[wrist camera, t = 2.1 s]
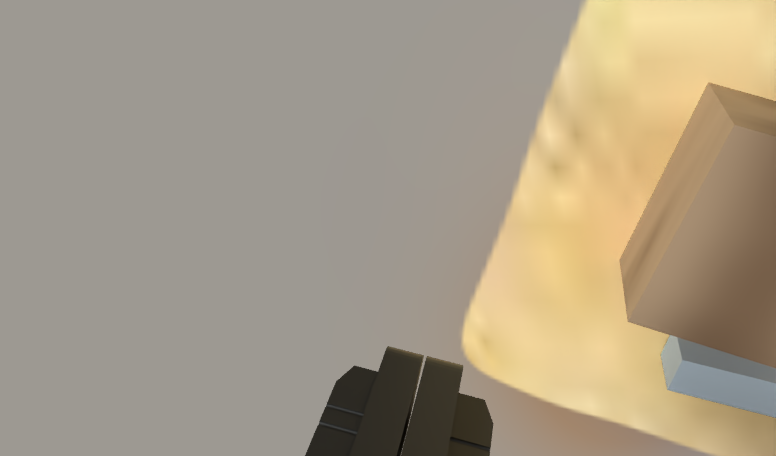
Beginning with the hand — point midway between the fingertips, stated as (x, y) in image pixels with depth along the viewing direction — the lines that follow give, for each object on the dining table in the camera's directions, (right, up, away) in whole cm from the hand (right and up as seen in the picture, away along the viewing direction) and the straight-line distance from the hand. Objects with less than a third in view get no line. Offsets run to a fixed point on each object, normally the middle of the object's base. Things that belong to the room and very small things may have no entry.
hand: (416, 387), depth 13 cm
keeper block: (+12, +4, +10) cm, 16 cm away
